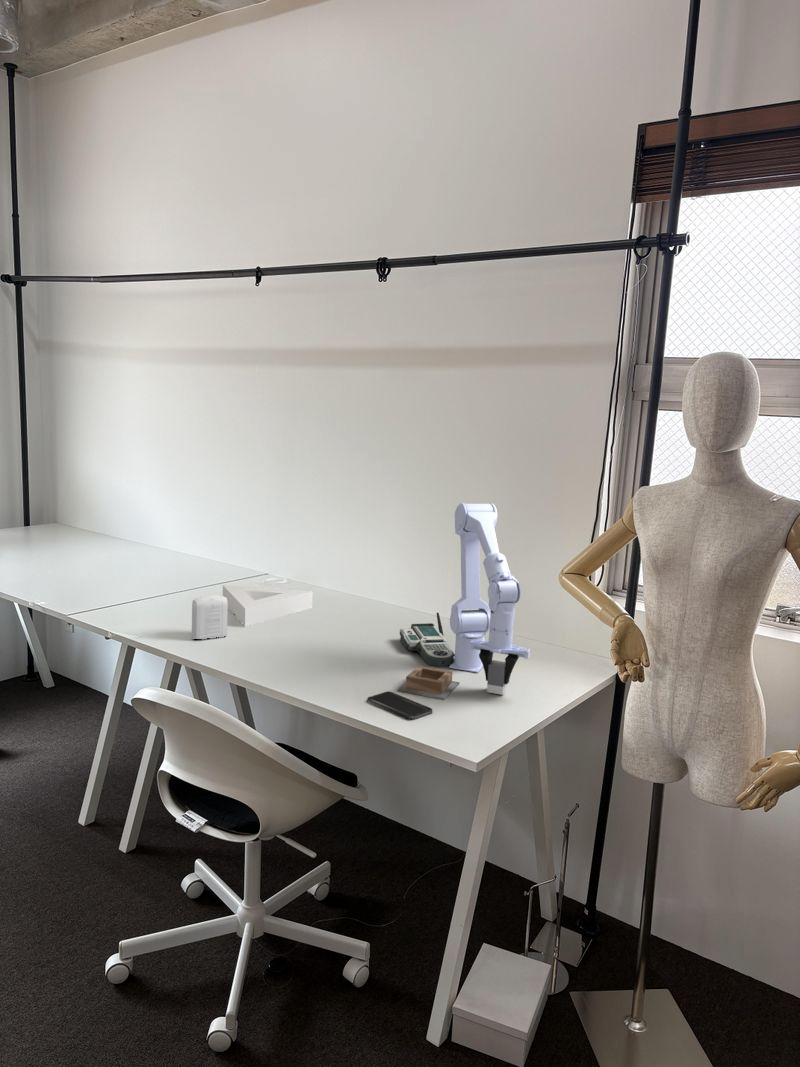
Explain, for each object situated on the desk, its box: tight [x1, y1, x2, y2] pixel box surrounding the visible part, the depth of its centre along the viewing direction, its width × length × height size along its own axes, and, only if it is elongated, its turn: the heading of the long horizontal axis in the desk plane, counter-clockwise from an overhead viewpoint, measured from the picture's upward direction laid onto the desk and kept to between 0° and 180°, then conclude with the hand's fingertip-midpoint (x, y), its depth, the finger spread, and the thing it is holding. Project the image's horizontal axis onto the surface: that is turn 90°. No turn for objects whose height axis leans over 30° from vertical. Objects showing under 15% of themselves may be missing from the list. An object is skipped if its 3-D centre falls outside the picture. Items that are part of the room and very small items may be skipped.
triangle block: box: [222, 584, 314, 628], centre depth 263 cm, size 30×26×6 cm
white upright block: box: [191, 594, 229, 640], centre depth 239 cm, size 10×4×12 cm, turn 123°
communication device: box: [399, 612, 455, 668], centre depth 235 cm, size 12×24×9 cm, turn 14°
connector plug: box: [486, 659, 508, 696], centre depth 207 cm, size 4×4×7 cm
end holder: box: [397, 665, 460, 701], centre depth 208 cm, size 12×12×4 cm
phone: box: [366, 691, 433, 721], centre depth 196 cm, size 8×1×15 cm
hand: (497, 681), depth 207 cm, fingers closed on connector plug, 4 cm apart
